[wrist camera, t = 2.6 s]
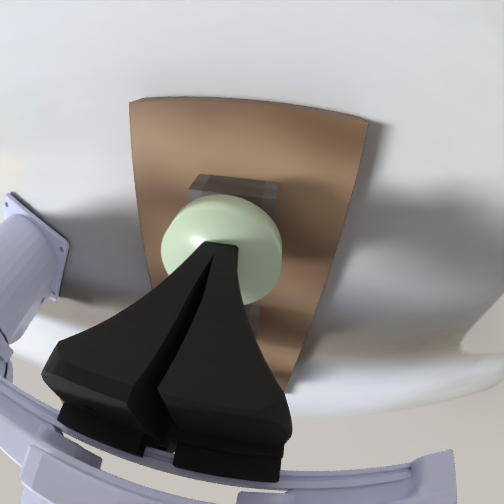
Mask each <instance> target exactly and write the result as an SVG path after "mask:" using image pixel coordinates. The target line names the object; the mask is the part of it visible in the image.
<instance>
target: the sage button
mask: <svg viewBox="0 0 504 504" xmlns="http://www.w3.org/2000/svg"><path fill="white" fill-rule="evenodd" d="M204 241H207V242H215V243H222V244H230V245H236V246H237V247H238V248H239V253H238V268H237V272H238V280H239V286H240V291H241V296H242V300H243V304H244V305H246V304H250V303H253V302H255V301H258V300H259V299H261V298H263V297H264V296H266V295H267V294H268V293H269V292H270V291H271V290H272V289H273V288H274V286H275V285H276V283H277V281H278V279H279V276H280V273H281V261H282V240H281V236H280V233H279V231H278V228H277V226H276V225H275V223H274V222H273V220H272V219H271V218H270V216H269V215H268V214H267V213H266V212H265V211H263V210H262V209H261V208H259V207H258V206H257V205H255V204H253V203H251V202H249V201H247V200H245V199H242V198H239V197H236V196H231V195H221V194H217V195H208V196H203V197H200V198H197V199H195V200H193V201H191V202H189V203H188V204H187V205H185V206H184V207H183V208H182V209H181V210H180V211H179V213H178V214H177V215H176V217H175V218H174V220H173V221H172V223H171V225H170V226H169V228H168V229H167V231H166V233H165V235H164V237H163V240H162V244H161V257H162V261H163V264H164V267H165V269H166V271H167V273H168V274H169V275H170V274H171V273H172V272H173V271H174V270H175V269H177V268H178V267H179V266H180V265H181V264H182V263H183V262H184V261H185V260H186V259H187V258H188V257H189V256H190V255H191V254H192V253H193V252H194V251H195V250H196V249H197V248H198V247H199V245H200V244H201V243H203V242H204Z"/></svg>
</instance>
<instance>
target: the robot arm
mask: <svg viewBox="0 0 504 504" xmlns="http://www.w3.org/2000/svg"><path fill="white" fill-rule="evenodd" d="M68 249H69V243H68V241H67V240H66V239H65V238H63V237H62V236H61V235H59V234H58V233H57V232H56V231H54V230H53V229H52V228H50V227H49V226H48V225H47V224H45V223H44V222H43V221H42V220H40V219H39V218H38V217H37V216H35V215H34V214H33V213H32V212H31V211H29V210H28V209H27V208H26V207H25V206H23V205H22V204H21V203H20V202H19V201H18V200H16V199H15V198H14V197H13V196H12V195H11V194H9V193H7V194H6V195H5V196H4V209H3V222H2V223H1V224H0V449H2V451H4V452H5V453H6V454H7V455H8V456H9V457H10V458H11V459H12V460H14V461H15V462H16V463H17V464H18V465H19V466H20V467H21V470H20V473H19V478H20V480H21V482H22V484H23V485H24V486H25V487H24V490H23V494H22V498H21V502H20V504H214V503H208V502H203V501H198V500H193V499H189V498H185V497H180V496H176V495H172V494H168V493H165V492H161V491H158V490H155V489H151V488H148V487H145V486H142V485H139V484H136V483H133V482H130V481H127V480H125V479H122V478H119V477H117V476H114V475H112V474H109V473H107V472H104V471H102V470H101V469H100V467H101V463H102V458H101V457H99V456H97V455H95V454H93V453H91V452H89V451H88V450H86V449H84V448H83V447H81V446H80V445H78V444H77V443H75V442H73V441H71V440H69V439H67V438H66V437H64V436H63V433H62V432H64V433H66V434H68V435H70V436H72V437H74V438H76V439H78V440H80V441H82V442H84V443H86V444H89V445H91V446H93V447H96V448H98V449H100V450H103V451H105V452H108V453H110V454H113V455H115V456H118V457H120V458H123V459H126V460H129V461H132V462H134V463H137V464H140V465H144V466H147V467H150V468H153V469H156V470H160V471H164V472H167V473H171V474H175V475H179V476H183V477H187V478H192V479H196V480H202V481H206V482H212V483H218V484H224V485H230V486H237V487H246V488H256V489H267V490H285V491H287V492H285V493H284V494H283V493H260V492H259V493H258V492H243V491H241V492H239V493H238V497H237V503H236V504H457V490H456V489H457V488H456V474H455V464H454V455H453V450H451V449H450V450H446V451H442V452H438V453H434V454H429V455H426V456H423V457H420V458H418V459H416V460H414V461H412V462H410V463H405V464H399V465H392V466H385V467H377V468H368V469H357V470H342V471H285V470H280V468H281V458H283V452H284V444H285V443H286V442H287V440H289V438H290V437H291V435H292V421H291V415H290V411H289V407H288V404H287V400H286V397H285V393H284V392H283V390H282V388H281V387H280V385H279V384H278V382H277V380H276V379H275V377H274V375H273V374H272V372H271V370H270V368H269V366H268V364H267V362H266V361H265V359H264V357H263V354H262V352H261V350H260V348H259V346H258V343H257V341H256V339H255V337H254V334H253V331H252V329H251V326H250V323H249V320H248V317H247V314H246V311H245V308H244V304H243V300H242V296H241V291H240V286H239V280H238V272H237V268H238V253H239V248H238V247H237V246H236V245H230V244H222V243H215V242H207V241H204V242H203V243H201V244H200V245H199V247H198V248H197V249H196V250H195V251H194V252H193V253H192V254H191V255H190V256H189V257H188V258H187V259H186V260H185V261H184V262H183V263H182V264H181V265H180V266H179V267H178V268H177V269H175V270H174V271H173V272H172V273H171V274H170V275H169V276H168V277H167V278H166V279H164V280H163V281H162V282H161V283H160V284H159V285H157V286H156V287H155V288H154V289H153V290H151V291H150V292H149V293H147V294H146V295H145V296H143V297H142V298H141V299H139V300H138V301H137V302H135V303H134V304H132V305H131V306H129V307H128V308H126V309H124V310H123V311H121V312H119V313H118V314H116V315H115V316H113V317H111V318H109V319H108V320H106V321H104V322H102V323H100V324H98V325H96V326H94V327H92V328H90V329H88V330H85V331H83V332H81V333H78V334H76V335H73V336H71V337H69V338H66V339H64V340H61V341H59V342H58V343H57V345H56V347H55V348H54V350H53V352H52V354H51V355H50V357H49V359H48V361H47V363H46V365H45V367H44V369H43V371H42V373H41V375H42V378H43V380H44V381H45V383H46V384H47V385H48V386H49V387H50V388H51V389H52V390H53V391H54V392H55V393H56V394H57V395H58V396H59V397H60V398H61V399H62V400H63V401H64V403H63V406H62V408H61V410H60V411H59V410H57V409H55V408H53V407H51V406H49V405H47V404H45V403H43V402H41V401H40V400H38V399H36V398H35V397H33V396H31V395H29V394H28V393H26V392H24V391H23V390H21V389H20V388H18V387H17V386H15V385H13V384H12V381H13V368H12V362H11V360H10V357H11V355H12V354H13V350H12V349H11V348H10V347H9V344H12V343H14V342H16V341H17V340H19V339H20V338H21V336H22V335H23V334H24V332H25V330H26V329H27V327H28V326H29V324H30V323H31V321H32V320H33V318H34V317H35V315H36V314H37V312H38V311H39V309H40V308H41V306H42V305H43V303H44V302H45V300H46V299H47V298H48V296H49V297H50V298H51V299H53V300H55V301H56V300H57V299H58V296H59V291H60V285H61V280H62V275H63V271H64V266H65V262H66V257H67V253H68ZM61 431H62V432H61ZM174 452H175V454H173V453H174Z"/></svg>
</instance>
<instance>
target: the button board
mask: <svg viewBox="0 0 504 504" xmlns="http://www.w3.org/2000/svg"><path fill="white" fill-rule="evenodd" d="M129 115H130V134H131V148H132V160H133V171H134V181H135V189H136V198H137V205H138V213H139V220H140V226H141V233H142V239H143V245H144V250H145V256H146V261H147V266H148V272H149V277H150V281H151V286H152V290H153V289H154V288H155V287H156V286H157V285H159V284H160V283H161V282H162V281H163V280H164V279H166V278H167V277H168V276H169V274H168V273H167V271H166V269H165V267H164V264H163V261H162V257H161V244H162V240H163V237H164V235H165V233H166V231H167V229H168V228H169V226H170V225H171V223H172V221H173V220H174V218H175V217H176V215H177V214H178V213H179V211H180V210H181V209H182V208H183V207H184V206H185V205H187V204H188V203H189V202H191V201H193V200H195V199H197V198H200V197H203V196H208V195H217V194H221V195H231V196H236V197H239V198H242V199H245V200H247V201H249V202H251V203H253V204H255V205H257V206H258V207H259V208H261V209H262V210H263V211H265V212H266V213H267V214H268V215H269V216H270V218H271V219H272V220H273V222H274V223H275V225H276V226H277V228H278V231H279V233H280V236H281V240H282V261H281V273H280V276H279V279H278V281H277V283H276V285H275V286H274V288H273V289H272V290H271V291H270V292H269V293H268V294H267V295H266V296H264V297H263V298H261V299H259V300H258V301H255V302H253V303H250V304H246V305H244V308H245V311H246V314H247V317H248V320H249V323H250V326H251V329H252V331H253V334H254V337H255V339H256V341H257V343H258V346H259V348H260V350H261V352H262V354H263V357H264V359H265V361H266V362H267V364H268V366H269V368H270V370H271V372H272V374H273V375H274V377H275V379H276V380H277V382H278V384H279V385H280V387H281V388H282V390H283V392H284V390H285V387H286V385H287V383H288V380H289V378H290V375H291V373H292V371H293V368H294V366H295V363H296V361H297V358H298V356H299V353H300V351H301V348H302V346H303V343H304V341H305V338H306V335H307V333H308V330H309V327H310V325H311V322H312V319H313V317H314V314H315V311H316V308H317V305H318V303H319V300H320V297H321V294H322V291H323V288H324V285H325V282H326V279H327V276H328V273H329V270H330V267H331V264H332V261H333V258H334V254H335V251H336V248H337V245H338V241H339V238H340V235H341V231H342V228H343V225H344V221H345V218H346V214H347V210H348V207H349V203H350V199H351V196H352V192H353V188H354V184H355V180H356V176H357V172H358V168H359V164H360V160H361V155H362V151H363V147H364V142H365V138H366V133H367V128H368V123H367V122H366V121H365V120H363V119H362V118H361V117H357V116H353V115H348V114H343V113H339V112H334V111H329V110H323V109H318V108H312V107H306V106H299V105H292V104H285V103H277V102H269V101H259V100H248V99H234V98H215V97H156V98H142V99H139V100H136V101H133V102H130V103H129Z"/></svg>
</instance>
